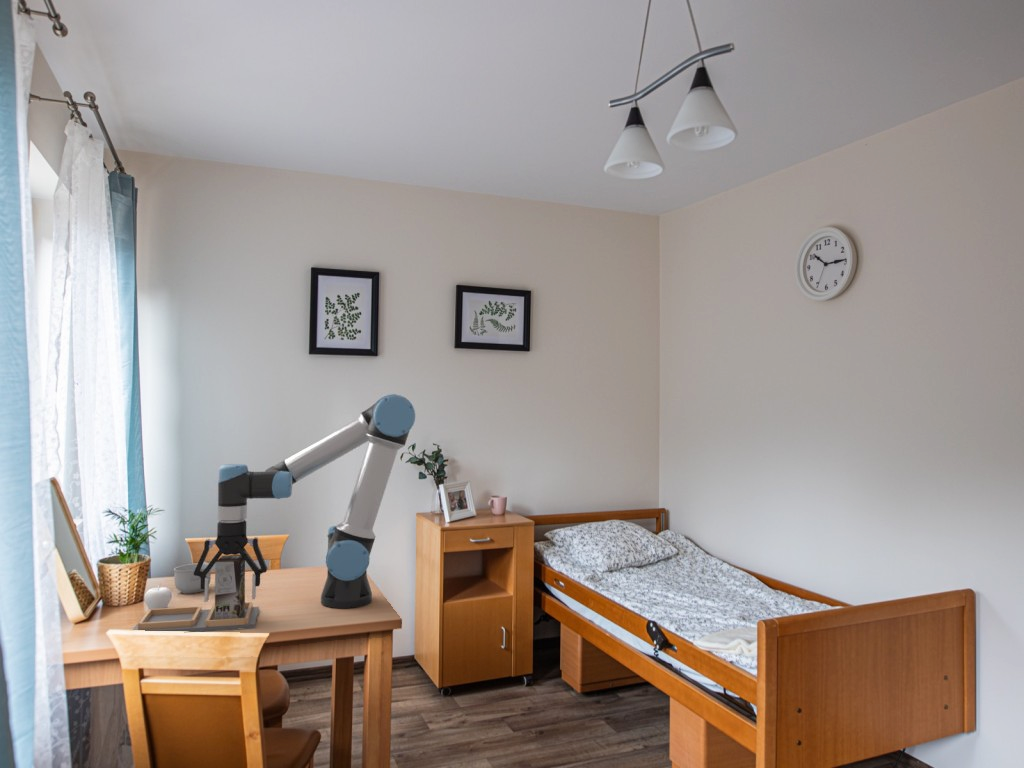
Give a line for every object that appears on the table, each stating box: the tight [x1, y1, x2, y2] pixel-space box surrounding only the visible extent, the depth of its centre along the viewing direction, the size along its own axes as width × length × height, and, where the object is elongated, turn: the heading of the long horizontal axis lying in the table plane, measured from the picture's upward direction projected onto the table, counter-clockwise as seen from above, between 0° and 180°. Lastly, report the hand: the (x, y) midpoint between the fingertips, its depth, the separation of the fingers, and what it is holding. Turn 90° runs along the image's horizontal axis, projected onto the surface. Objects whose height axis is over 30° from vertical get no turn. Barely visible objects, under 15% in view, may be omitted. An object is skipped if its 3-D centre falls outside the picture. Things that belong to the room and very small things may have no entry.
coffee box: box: [214, 554, 246, 620], centre depth 201 cm, size 9×6×16 cm
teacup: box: [173, 561, 212, 594], centre depth 232 cm, size 14×11×8 cm
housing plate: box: [132, 601, 260, 632], centre depth 199 cm, size 30×17×2 cm, turn 105°
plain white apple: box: [144, 581, 173, 610], centre depth 210 cm, size 7×7×8 cm
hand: (230, 599), depth 201 cm, fingers open, 11 cm apart
